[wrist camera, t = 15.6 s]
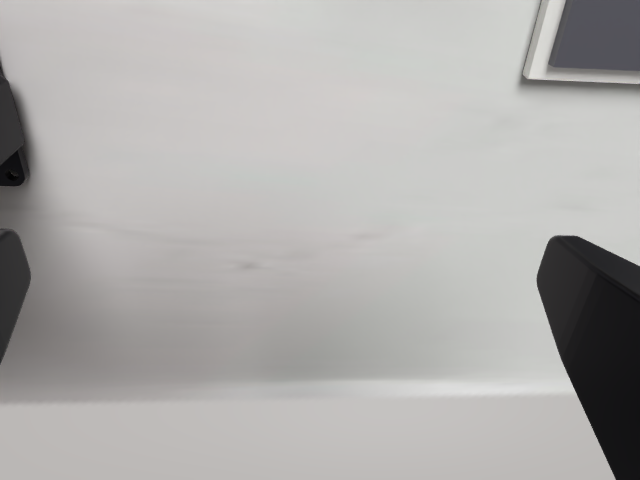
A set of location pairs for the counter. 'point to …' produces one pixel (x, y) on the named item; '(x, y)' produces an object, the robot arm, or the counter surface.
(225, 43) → the counter surface
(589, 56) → the ink pad
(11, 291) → the robot arm
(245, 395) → the counter surface
